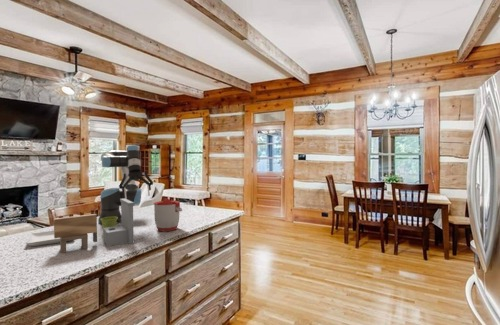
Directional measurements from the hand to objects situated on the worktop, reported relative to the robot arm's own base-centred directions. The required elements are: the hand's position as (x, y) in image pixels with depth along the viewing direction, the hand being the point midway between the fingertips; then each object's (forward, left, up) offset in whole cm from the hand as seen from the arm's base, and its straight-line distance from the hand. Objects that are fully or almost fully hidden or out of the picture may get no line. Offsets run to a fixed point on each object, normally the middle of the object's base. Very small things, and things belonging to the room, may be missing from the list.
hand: (137, 196), depth 176 cm
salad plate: (-6, -44, -21) cm, 49 cm away
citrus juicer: (+12, +15, -21) cm, 28 cm away
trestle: (+19, -36, -21) cm, 45 cm away
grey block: (+19, -16, -21) cm, 32 cm away
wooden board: (+19, -35, -19) cm, 44 cm away
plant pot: (-3, -16, -21) cm, 26 cm away
